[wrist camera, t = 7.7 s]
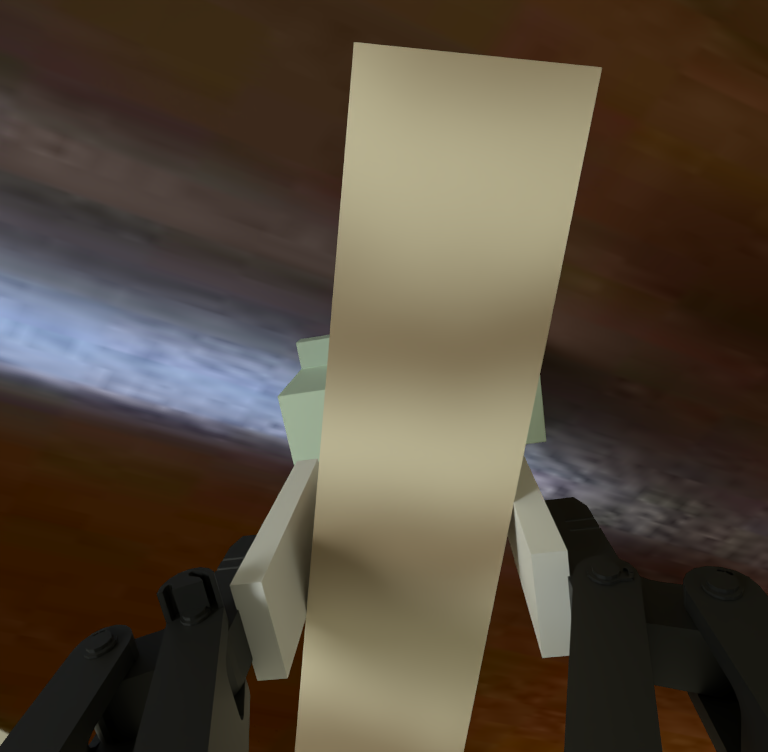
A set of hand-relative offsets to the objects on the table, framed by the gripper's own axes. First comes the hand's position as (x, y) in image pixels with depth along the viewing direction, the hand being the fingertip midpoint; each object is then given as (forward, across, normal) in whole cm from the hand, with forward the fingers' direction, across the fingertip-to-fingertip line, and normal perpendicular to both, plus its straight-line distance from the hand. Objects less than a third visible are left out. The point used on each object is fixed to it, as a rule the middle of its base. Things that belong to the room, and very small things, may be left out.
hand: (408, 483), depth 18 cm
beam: (+1, 0, 0) cm, 1 cm away
